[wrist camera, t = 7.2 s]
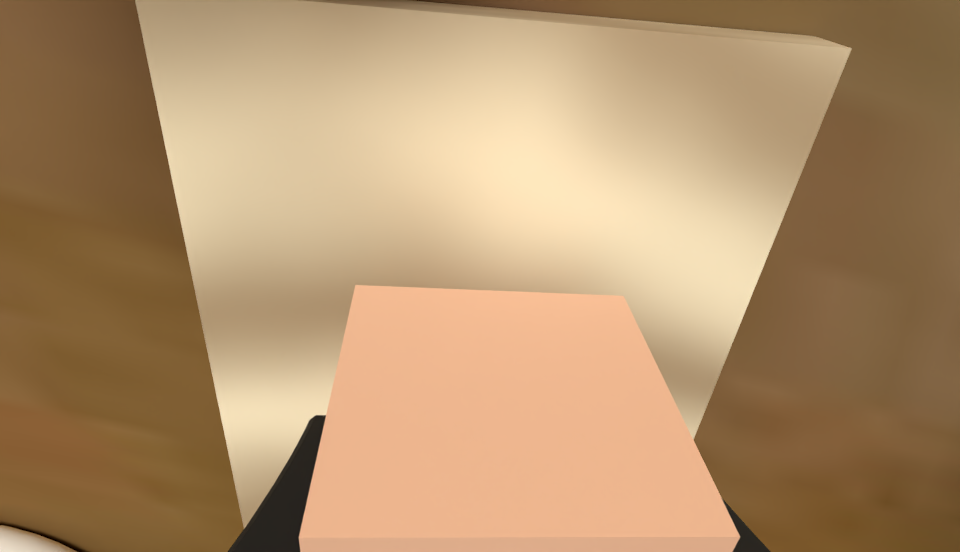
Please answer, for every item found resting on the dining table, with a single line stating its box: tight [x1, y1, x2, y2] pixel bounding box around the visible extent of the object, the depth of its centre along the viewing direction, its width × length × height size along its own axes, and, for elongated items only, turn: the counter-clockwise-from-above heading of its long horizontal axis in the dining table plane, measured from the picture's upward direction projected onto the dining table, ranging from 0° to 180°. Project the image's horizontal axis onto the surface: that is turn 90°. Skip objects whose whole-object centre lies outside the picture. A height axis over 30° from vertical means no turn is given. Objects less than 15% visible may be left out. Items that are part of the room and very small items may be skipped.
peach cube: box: [299, 285, 740, 552], centre depth 10 cm, size 5×5×5 cm
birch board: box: [135, 0, 852, 529], centre depth 14 cm, size 14×12×1 cm
